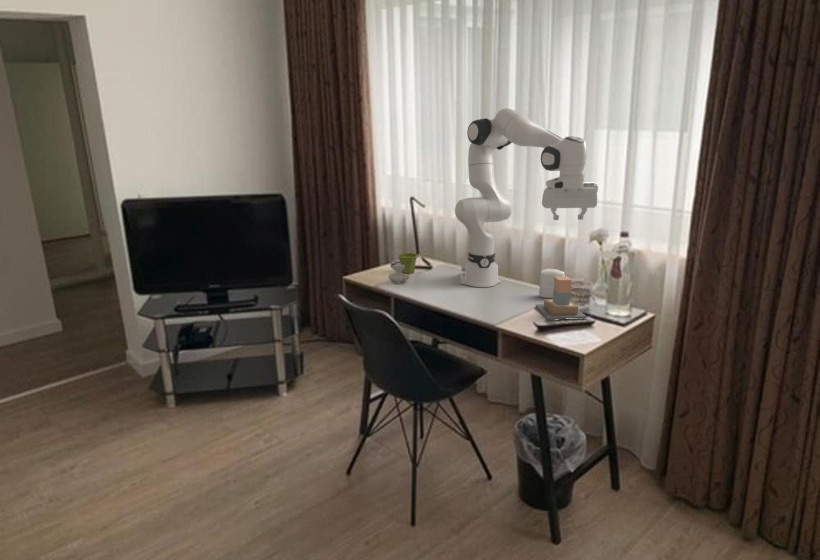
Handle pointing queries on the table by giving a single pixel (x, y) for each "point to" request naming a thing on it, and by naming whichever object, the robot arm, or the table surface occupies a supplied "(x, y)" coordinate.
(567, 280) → the terracotta cube
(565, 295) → the grey cube
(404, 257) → the plant pot
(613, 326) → the table surface
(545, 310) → the build plate
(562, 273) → the photo printer
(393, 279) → the stamp
